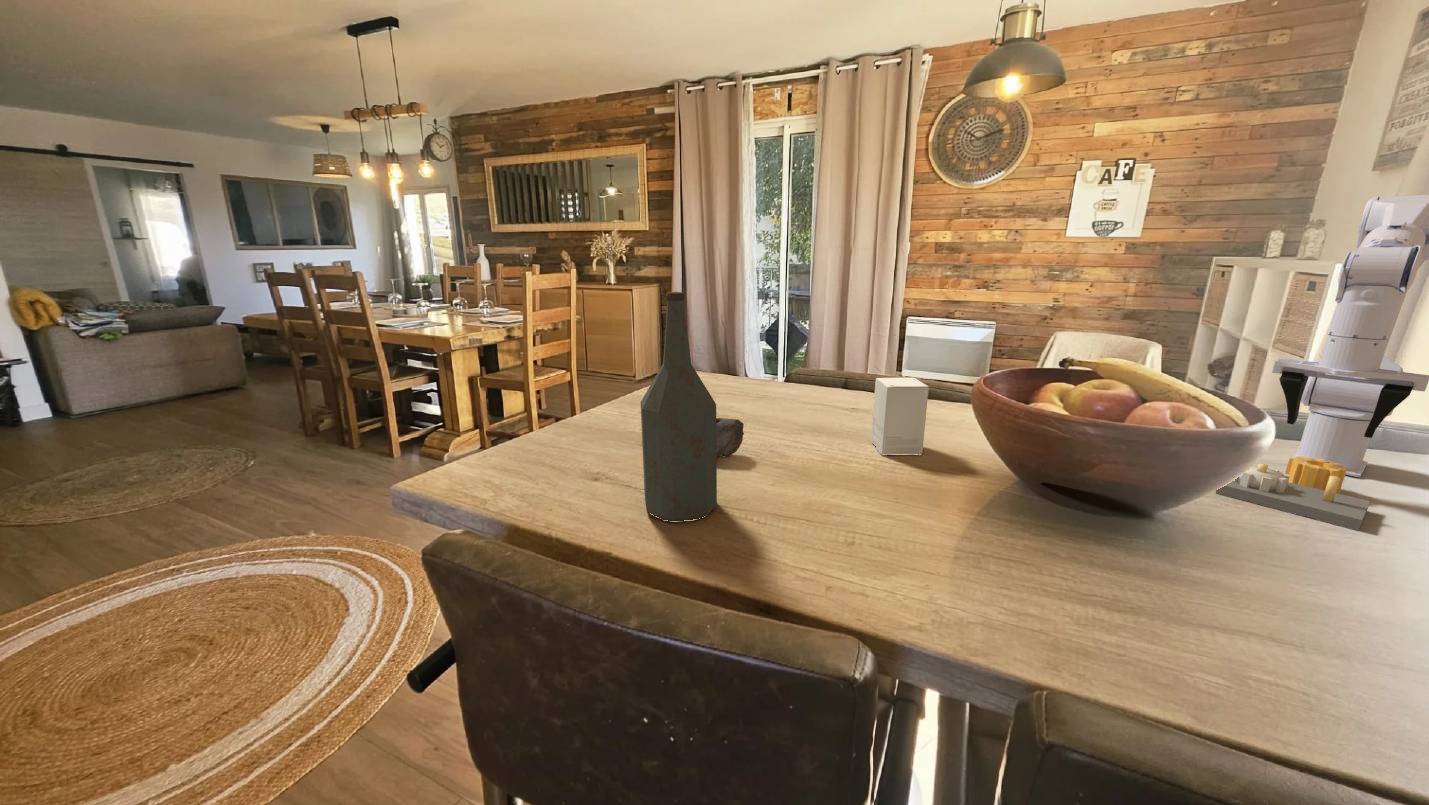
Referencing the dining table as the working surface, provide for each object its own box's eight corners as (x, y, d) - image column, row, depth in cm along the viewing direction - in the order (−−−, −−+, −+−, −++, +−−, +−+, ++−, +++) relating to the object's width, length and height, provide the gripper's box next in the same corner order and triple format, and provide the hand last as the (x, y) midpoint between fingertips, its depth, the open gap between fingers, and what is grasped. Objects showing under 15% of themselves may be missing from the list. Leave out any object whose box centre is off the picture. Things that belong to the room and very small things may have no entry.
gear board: (1231, 478, 86) (1239, 448, 85) (1366, 511, 75) (1378, 477, 74) (1215, 493, 81) (1223, 461, 79) (1358, 530, 70) (1370, 494, 69)
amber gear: (1286, 477, 86) (1293, 453, 85) (1341, 489, 82) (1349, 464, 81) (1279, 486, 83) (1286, 462, 82) (1335, 500, 78) (1343, 474, 77)
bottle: (630, 507, 77) (619, 292, 69) (680, 486, 84) (675, 287, 76) (680, 532, 71) (674, 296, 63) (730, 506, 78) (731, 291, 69)
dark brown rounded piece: (655, 457, 96) (654, 419, 94) (664, 447, 101) (663, 411, 99) (739, 463, 93) (740, 425, 91) (744, 453, 98) (745, 416, 96)
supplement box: (923, 456, 96) (930, 386, 92) (880, 456, 96) (886, 386, 93) (909, 442, 103) (915, 376, 100) (869, 442, 103) (874, 376, 100)
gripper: (1278, 333, 79) (1254, 422, 83) (1440, 346, 68) (1404, 448, 72) (1288, 328, 83) (1264, 413, 87) (1443, 340, 72) (1408, 437, 76)
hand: (1328, 429), depth 80 cm, fingers open, 7 cm apart
